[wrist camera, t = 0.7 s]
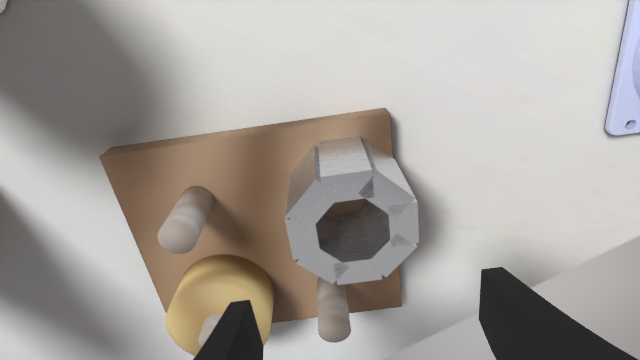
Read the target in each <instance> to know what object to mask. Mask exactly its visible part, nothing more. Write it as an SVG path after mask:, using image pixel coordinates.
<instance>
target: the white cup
mask: <svg viewBox="0 0 640 360" xmlns="http://www.w3.org/2000/svg"><path fill="white" fill-rule="evenodd" d="M6 4H7V0H0V13H1V12H3V11H4V10H5V7H6Z"/></svg>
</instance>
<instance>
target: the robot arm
mask: <svg viewBox="0 0 640 360" xmlns="http://www.w3.org/2000/svg"><path fill="white" fill-rule="evenodd" d="M628 121H630V123H629V125H628V126H626V127H625V125H626V123H627V122H628ZM605 130H606V131H607V132H608V133H610V134H612V135H615V136H618V135H626V134H633V133H640V0H630V1H629V6H628V11H627V17H626V22H625V27H624V32H623V37H622V42H621V47H620V53H619V58H618V63H617V68H616V73H615V78H614V83H613V88H612V94H611V99H610V104H609V109H608V114H607V119H606V124H605ZM479 321H480V323H481V326H482V328H483V330H484V333H485V336H486V338H487V340H488V343H489V345H490V347H491V350H492V352H493V353H494V356H495V357H496V359H497V360H638V359H636V358H634V357H633V356H631V355H629V354H627V353H626V352H624V351H622V350H620V349H619V348H617V347H615V346H614V345H612V344H610V343H608V342H607V341H606V340H604V339H602V338H601V337H599V336H598V335H596V334H595V333H593V332H592V331H590V330H589V329H587V328H585V327H584V326H582V325H581V324H579V323H578V322H576V321H575V320H573V319H571V318H570V317H569V316H568V315H566V314H565V313H563V312H562V311H560V310H559V309H558V308H556V307H555V306H553V305H552V304H551V303H549V302H548V301H546V300H545V299H544V298H542V297H541V296H540V295H538V294H537V293H536V292H534V291H533V290H532V289H530V288H529V287H528V286H526V285H525V284H524V283H522V282H521V281H520V280H518V279H517V278H516V277H514V276H513V275H512V274H511V273H509V272H508V271H507V270H505V269H504V268H502V267H498V268H490V269H482V271H481V289H480V307H479ZM193 360H263V343H262V339H261V336H260V332H259V329H258V325H257V322H256V319H255V315H254V312H253V308H252V305H251V301H250V300H243V301H236V302H231V303H230V304H229V305H228V307H227V308H226V310H225V311H224V313H223V315H222V316H221V318H220V320H219V321H218V323H217V324H216V326H215V328H214V329H213V331H212V332H211V334H210V335H209V337H208V339H207V340H206V342H205V343H204V345H203V346H202V348H201V349H200V350H199V352H198V353H197V355H196V356H195V358H194V359H193Z"/></svg>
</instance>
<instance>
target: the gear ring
mask: <svg viewBox="0 0 640 360" xmlns="http://www.w3.org/2000/svg"><path fill="white" fill-rule="evenodd" d="M364 198H365V199H367V200H368V201H369V202H368V203H367V204H366V206H365V207H364V208H363V209H362V210H361V211H360V212H354V213H346V214H339V215H336V214H334V213H333V212H331V211H330V210H328V209H329V208H330V207H331V206H332V204H333V203H335V202H342V201H350V200H357V199H364ZM285 224H286V228H287V233H288V238H289V242H290V247H291V252H292V256H293V260H295V259H296V264H298V265H300V266H302V267H303V268H305V269H307V270H309V271H310V272H312V273H314V274H316V275H317V276H319V277H321V278H322V279H324V280H326V281H328V282H329V283H331V284H333V283H334V282H335V281H336V280H337V285H343V284H350V283H358V282H366V281H374V280H381V279H382V275H383V276H385V277H387V276H388V275H389V274H390V273H391V272H392V271H393V270H394V269H395V268H396V267H398V266H399V265H400V264H401V263H402V262H403V261H404V260H405V259H406V258H407V257H408V256H409V255H410V254H411V253H412V252H413V251H414V250H415V249H416V248H417V245H416V243H419V223H418V202H417V200H416V198H415V196H414V194H413V192H412V190H411V188H410V187H409V185H408V183H407V181H406V179H405V177H404V175H403V173H402V172H401V170H400V168H399V166H398V164H397V162H396V160H395V159H394V158H392V157H391V156H390V155H388V154H387V153H386V152H384V151H383V150H382V149H380V148H379V147H377V146H376V145H375V144H373V143H372V142H371V141H369V140H368V139H367V138H365V137H363V138H362V139H361V138H360V135H359V136H352V137H345V138H338V139H331V140H324V141H318V146H317V145H315V144H313V146H312V147H311V148H310V149H309V151H308V152H307V153H306V155H305V156H304V157H303V158H302V160H301V161H300V162H299V164H298V165H297V166H296V167H295V169H294V170H293V171H292V172H291V174H290V178H289V185H288V195H287V204H286V213H285Z"/></svg>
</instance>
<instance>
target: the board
mask: <svg viewBox="0 0 640 360" xmlns="http://www.w3.org/2000/svg"><path fill="white" fill-rule="evenodd" d="M359 135H360V138H361V139H362V138H363V137H365V138H367V139H368V140H369V141H371V142H372V143H373V144H375V145H376V146H377V147H379V148H380V149H382V150H383V151H384V152H386V153H387V154H388V155H390V156H391V157H392V142H391V126H390V114H389V113H388V111H387V110H386V108H381V109H375V110H368V111H361V112H354V113H347V114H340V115H333V116H326V117H320V118H313V119H306V120H299V121H292V122H285V123H278V124H271V125H265V126H258V127H251V128H244V129H237V130H230V131H223V132H216V133H210V134H203V135H196V136H189V137H182V138H175V139H168V140H161V141H154V142H148V143H141V144H134V145H127V146H120V147H113V148H110V149H109V150H108V151H106V152H105V153H104V154H102V155H101V156H100V160H101V162H102V164H103V167H104V169H105V171H106V174H107V176H108V178H109V181H110V183H111V185H112V188H113V190H114V192H115V195H116V197H117V199H118V202H119V204H120V206H121V209H122V211H123V213H124V216H125V218H126V220H127V223H128V225H129V227H130V230H131V232H132V234H133V237H134V239H135V241H136V244H137V246H138V248H139V251H140V253H141V255H142V258H143V260H144V262H145V265H146V267H147V269H148V272H149V274H150V277H151V279H152V281H153V284H154V286H155V288H156V291H157V293H158V295H159V298H160V300H161V302H162V305H163V307H164V309H165V312H166V314H167V315H166V326H167V329H168V332H169V334H170V336H171V338H172V339H173V340H174V342H175V343H176V344H177V345H178V346H179V347H181V348H182V349H183V350H185V351H186V352H188V353H190V354H192V355H194V356H196V355H197V353H198V352H199V350H200V349H201V348H202V346H203V345H204V343H205V342H206V340H207V339H208V337H209V335H210V334H211V332H212V331H213V329H214V328H215V326H216V324H217V323H218V321H219V320H220V318H221V316H222V315H223V313H224V311H225V310H226V308H227V307H228V305H229V304H230V303H231V302H236V301H243V300H250V301H251V305H252V308H253V312H254V315H255V319H256V322H257V325H258V329H259V332H260V336H261V339H262V343H263V345H264V344H265V343H266V341H267V340H268V337H269V335H270V330H271V323H275V322H283V321H291V320H298V319H306V318H314V317H318V331H319V335H320V337H321V338H322V339H324V340H325V341H328V342H340V341H343V340H345V339H346V338H347V337H348V336H349V335H350V332H351V328H350V320H349V313H354V312H362V311H370V310H378V309H386V308H394V307H402V302H401V286H400V270H399V266H398V267H396V268H395V269H394V270H393V271H392V272H391V273H390V274H389V275H388V276H387V277H385V276H383V275H382V279H381V280H374V281H366V282H358V283H350V284H343V285H337V280H336V281H335V282H334V283H333V284H331V283H329V282H328V281H326V280H324V279H322V278H321V277H319V276H317V275H316V274H314V273H312V272H310V271H309V270H307V269H305V268H303V267H302V266H300V265H298V264H296V259H295V260H293V256H292V252H291V247H290V242H289V238H288V233H287V228H286V224H285V213H286V204H287V195H288V185H289V178H290V174H291V172H292V171H293V170H294V169H295V167H296V166H297V165H298V164H299V162H300V161H301V160H302V158H303V157H304V156H305V155H306V153H307V152H308V151H309V149H310V148H311V147H312V146H313V144H315V145H317V146H318V141H324V140H331V139H338V138H345V137H352V136H359ZM368 202H369V201H368V200H367V199H365V198H364V199H357V200H350V201H342V202H335V203H333V204H332V206H331V207H330V208H329V209H328V210H330V211H331V212H333V213H334V214H336V215H339V214H346V213H354V212H360V211H361V210H362V209H363V208H364V207H365V206H366V204H367V203H368Z"/></svg>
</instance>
